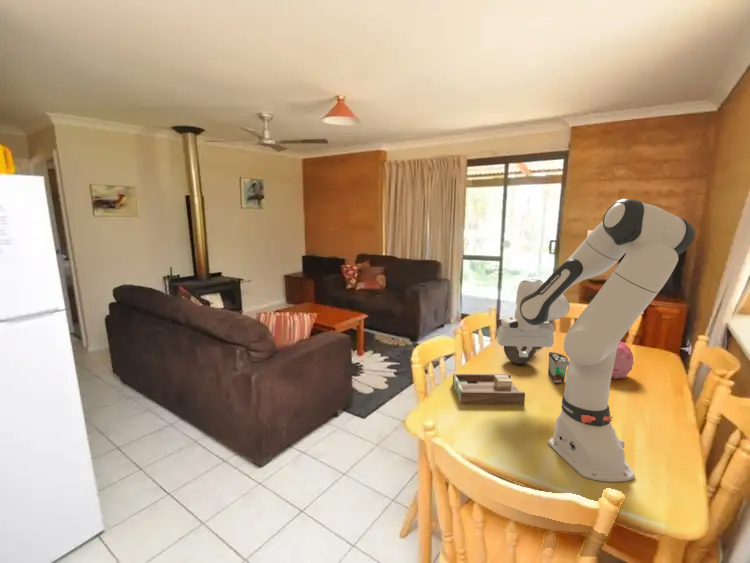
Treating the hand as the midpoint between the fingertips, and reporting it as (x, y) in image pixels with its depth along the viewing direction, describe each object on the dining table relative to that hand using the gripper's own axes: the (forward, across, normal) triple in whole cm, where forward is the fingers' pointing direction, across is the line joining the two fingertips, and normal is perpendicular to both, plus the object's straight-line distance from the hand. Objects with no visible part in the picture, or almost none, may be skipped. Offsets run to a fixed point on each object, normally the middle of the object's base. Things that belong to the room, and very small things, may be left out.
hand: (523, 356), depth 138 cm
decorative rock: (+15, -46, -18) cm, 51 cm away
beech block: (+13, +7, +1) cm, 15 cm away
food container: (+15, -21, -12) cm, 29 cm away
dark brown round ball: (+16, -11, -30) cm, 36 cm away
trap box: (+15, +12, +1) cm, 20 cm away
